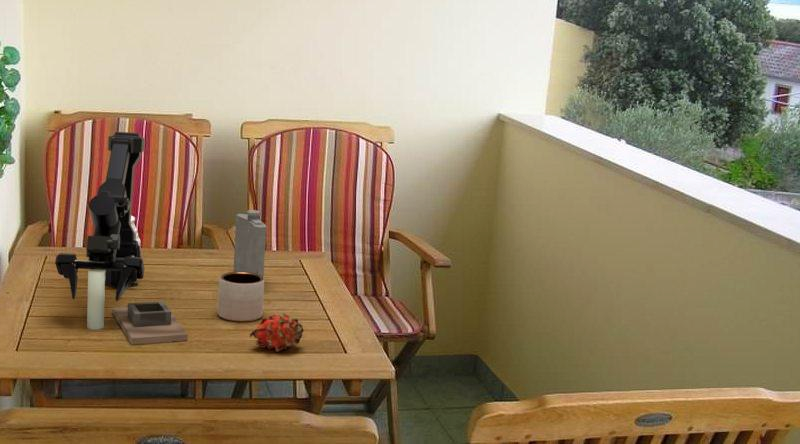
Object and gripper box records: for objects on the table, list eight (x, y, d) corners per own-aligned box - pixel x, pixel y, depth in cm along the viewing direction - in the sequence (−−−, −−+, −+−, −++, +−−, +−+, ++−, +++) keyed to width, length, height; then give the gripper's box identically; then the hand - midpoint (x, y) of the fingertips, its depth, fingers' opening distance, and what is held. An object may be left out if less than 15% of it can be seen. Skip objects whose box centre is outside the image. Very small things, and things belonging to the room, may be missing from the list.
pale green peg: (97, 323, 214) (99, 268, 211) (107, 327, 212) (108, 271, 209) (83, 326, 211) (84, 270, 208) (93, 330, 209) (94, 274, 206)
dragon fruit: (306, 355, 210) (253, 365, 206) (298, 324, 215) (245, 332, 212) (309, 334, 203) (253, 343, 200) (300, 302, 209) (246, 311, 205)
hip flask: (231, 276, 261) (235, 205, 256) (245, 275, 263) (249, 204, 258) (253, 292, 247) (257, 217, 243) (267, 291, 249) (272, 217, 245)
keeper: (112, 313, 222) (112, 294, 221) (163, 310, 227) (164, 292, 226) (131, 345, 203) (132, 325, 202) (187, 340, 208) (188, 321, 207)
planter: (270, 313, 232) (272, 276, 230) (249, 325, 221) (251, 286, 219) (231, 306, 235) (233, 268, 233) (208, 317, 225) (210, 278, 223)
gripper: (57, 217, 209) (44, 279, 201) (144, 222, 212) (135, 283, 203) (65, 243, 219) (53, 303, 210) (147, 248, 221) (139, 307, 213)
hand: (95, 299), depth 209 cm, fingers open, 9 cm apart
